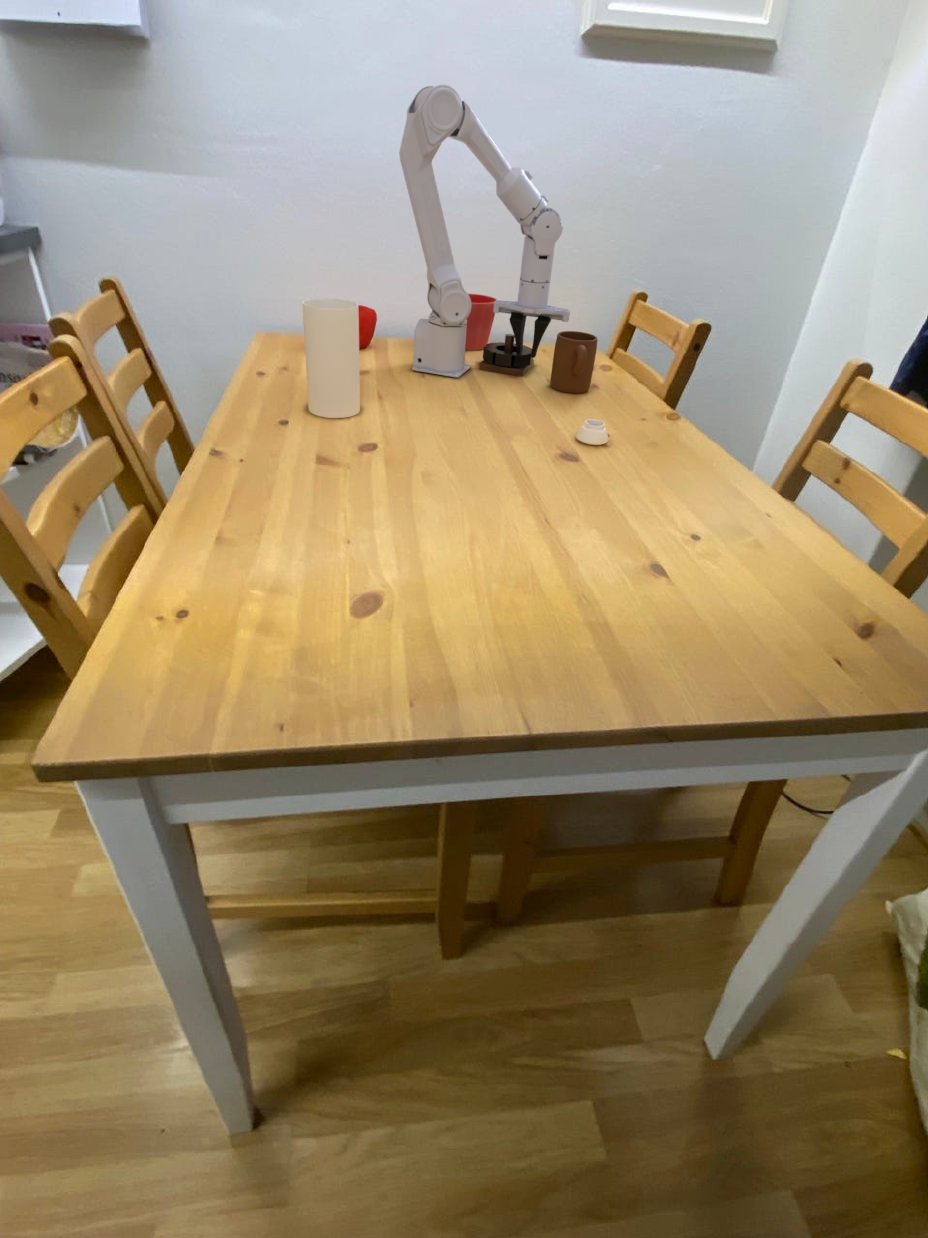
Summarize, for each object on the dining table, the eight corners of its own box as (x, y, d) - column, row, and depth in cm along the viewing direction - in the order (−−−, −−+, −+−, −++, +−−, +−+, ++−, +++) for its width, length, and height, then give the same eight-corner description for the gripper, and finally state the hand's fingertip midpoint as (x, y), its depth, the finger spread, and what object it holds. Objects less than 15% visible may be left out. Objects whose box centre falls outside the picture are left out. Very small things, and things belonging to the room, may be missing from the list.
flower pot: (447, 337, 157) (450, 290, 152) (495, 342, 156) (500, 295, 151) (440, 348, 149) (442, 299, 143) (490, 354, 148) (495, 305, 142)
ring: (478, 362, 136) (479, 350, 135) (489, 351, 144) (490, 339, 143) (526, 369, 135) (528, 357, 133) (535, 357, 142) (536, 346, 141)
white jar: (583, 447, 107) (613, 446, 108) (586, 428, 105) (616, 427, 106) (570, 435, 111) (599, 434, 112) (573, 417, 109) (602, 416, 110)
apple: (326, 348, 142) (324, 307, 138) (344, 339, 149) (343, 299, 145) (366, 354, 141) (366, 313, 136) (383, 345, 148) (383, 305, 143)
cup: (368, 406, 115) (367, 302, 106) (345, 421, 109) (342, 311, 99) (324, 398, 117) (319, 294, 108) (298, 412, 110) (291, 303, 101)
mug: (596, 403, 125) (606, 348, 120) (554, 400, 125) (562, 345, 120) (586, 383, 135) (594, 332, 130) (547, 380, 135) (554, 329, 129)
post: (478, 369, 138) (481, 336, 134) (491, 358, 145) (494, 327, 141) (522, 376, 136) (526, 343, 132) (533, 365, 143) (537, 333, 139)
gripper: (492, 278, 128) (486, 354, 136) (570, 288, 126) (559, 365, 133) (500, 273, 134) (494, 346, 142) (575, 282, 131) (564, 356, 139)
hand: (526, 355), depth 138 cm, fingers closed on ring, 2 cm apart
